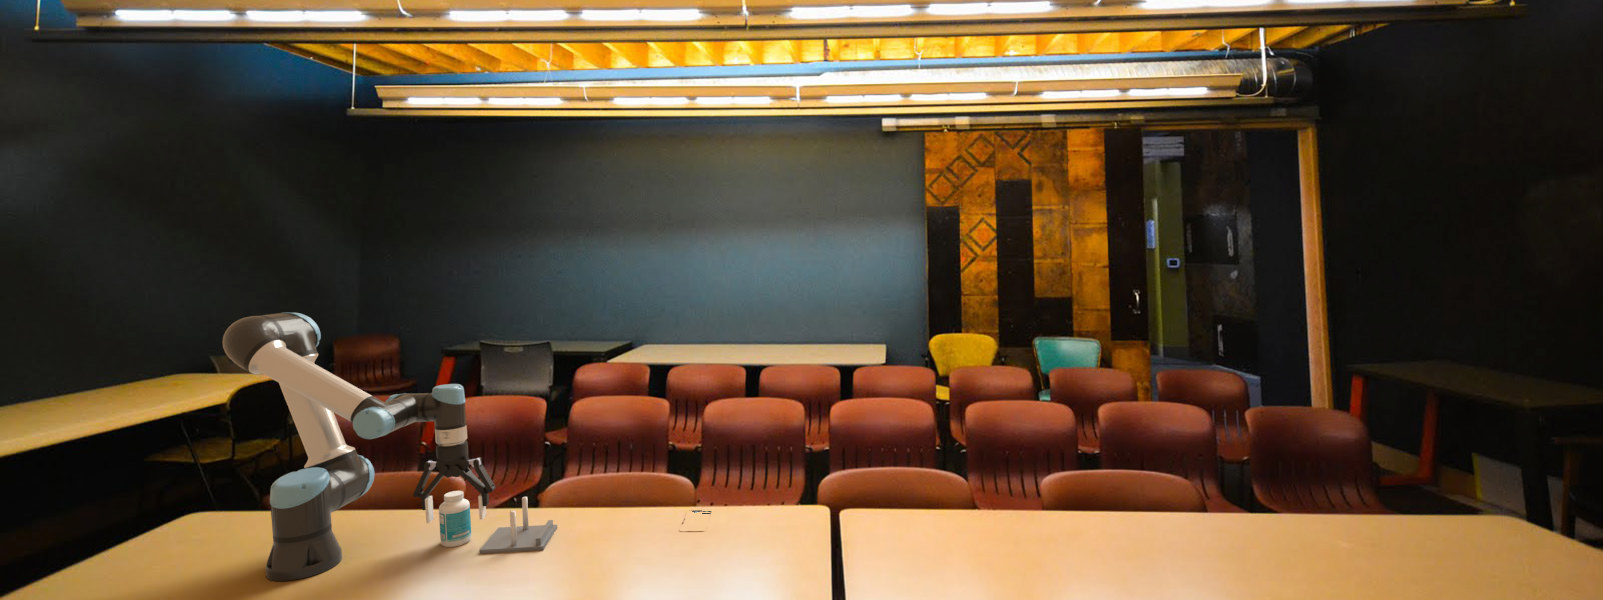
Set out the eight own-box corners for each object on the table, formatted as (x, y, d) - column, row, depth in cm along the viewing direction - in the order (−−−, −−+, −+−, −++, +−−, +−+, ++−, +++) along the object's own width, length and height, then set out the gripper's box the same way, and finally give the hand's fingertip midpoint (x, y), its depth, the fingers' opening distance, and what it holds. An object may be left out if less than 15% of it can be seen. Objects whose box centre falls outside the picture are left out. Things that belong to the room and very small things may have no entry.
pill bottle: (477, 536, 179) (475, 489, 178) (460, 548, 171) (458, 499, 170) (451, 535, 180) (449, 488, 179) (434, 547, 172) (431, 498, 171)
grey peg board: (479, 553, 169) (478, 516, 168) (498, 530, 182) (497, 496, 182) (543, 550, 170) (542, 513, 170) (557, 527, 184) (556, 493, 183)
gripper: (395, 449, 168) (400, 528, 170) (495, 443, 171) (499, 521, 173) (409, 440, 176) (414, 516, 177) (505, 435, 179) (509, 510, 180)
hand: (456, 519), depth 175 cm, fingers open, 13 cm apart
